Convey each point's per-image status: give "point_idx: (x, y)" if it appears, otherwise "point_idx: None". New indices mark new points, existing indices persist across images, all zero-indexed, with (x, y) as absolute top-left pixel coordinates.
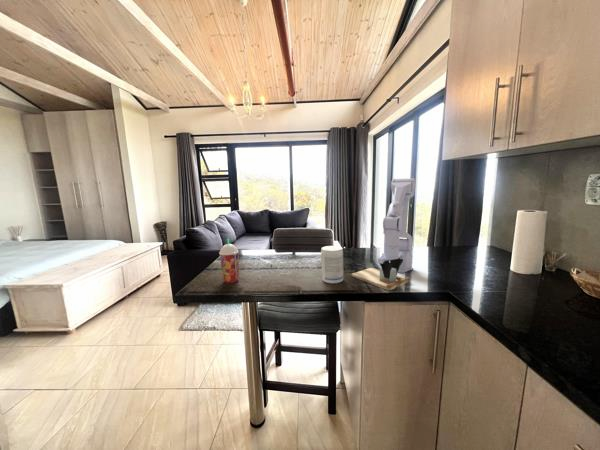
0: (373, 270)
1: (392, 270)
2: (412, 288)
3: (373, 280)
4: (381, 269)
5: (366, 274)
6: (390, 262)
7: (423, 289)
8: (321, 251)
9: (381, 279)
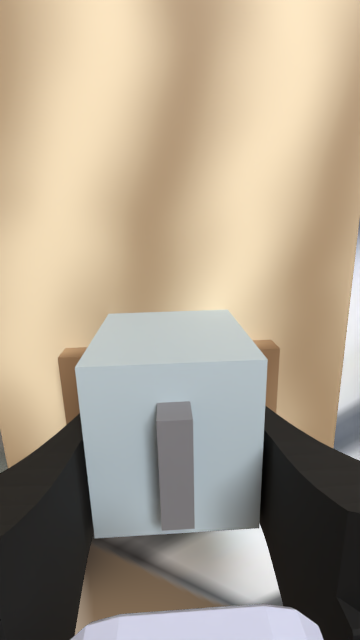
0: (295, 41)
1: (156, 531)
2: (223, 535)
3: (14, 304)
4: (84, 390)
5: (83, 100)
6: (304, 482)
7: (268, 577)
8: None
9: (62, 382)
